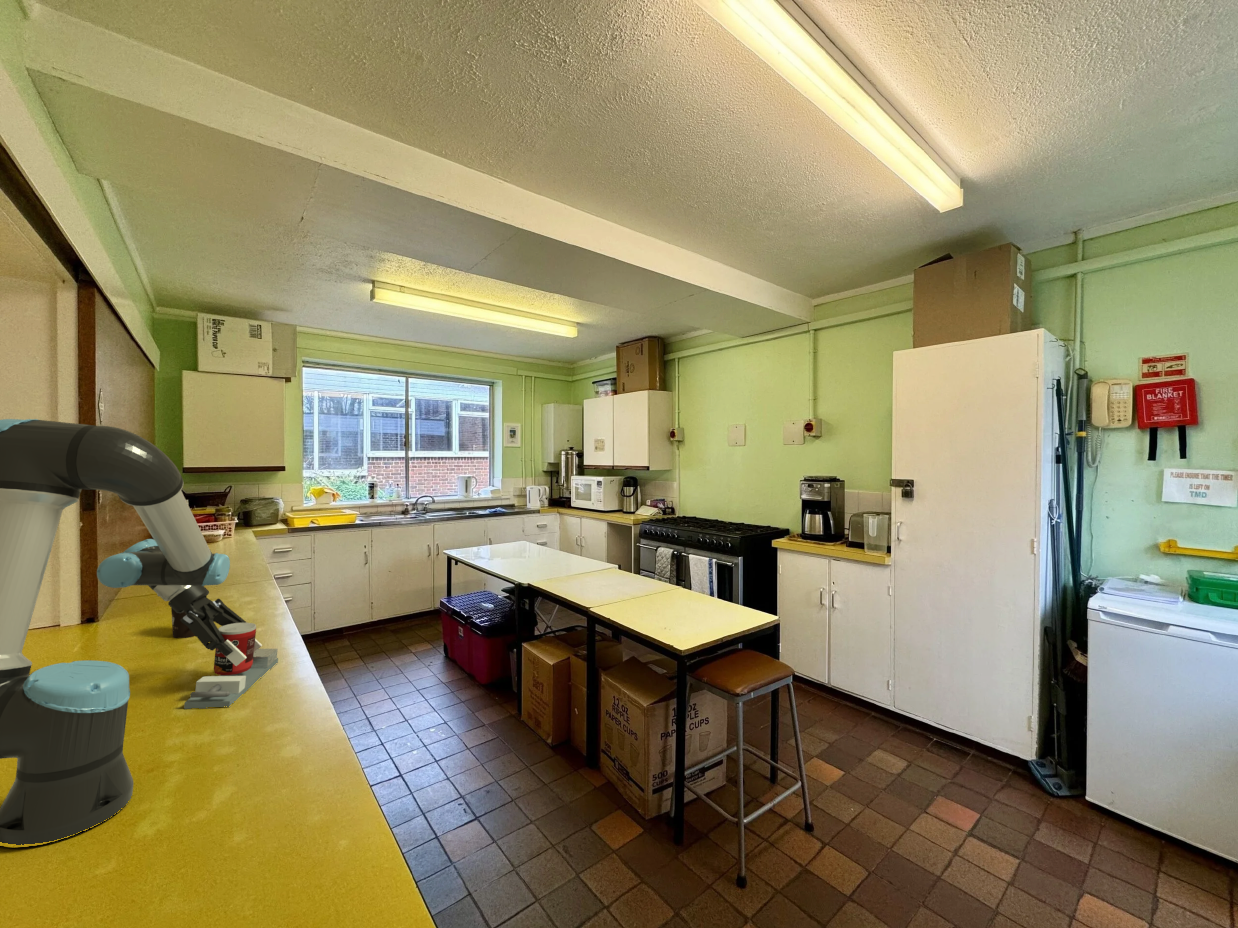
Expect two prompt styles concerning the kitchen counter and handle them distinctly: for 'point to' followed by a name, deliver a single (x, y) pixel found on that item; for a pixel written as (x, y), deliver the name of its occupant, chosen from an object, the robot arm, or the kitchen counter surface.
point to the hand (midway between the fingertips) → (249, 655)
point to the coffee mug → (180, 626)
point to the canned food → (241, 639)
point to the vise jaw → (264, 658)
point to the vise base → (231, 697)
